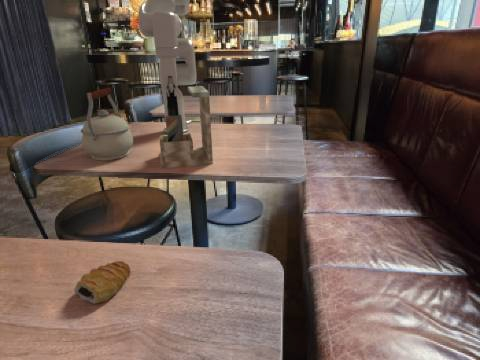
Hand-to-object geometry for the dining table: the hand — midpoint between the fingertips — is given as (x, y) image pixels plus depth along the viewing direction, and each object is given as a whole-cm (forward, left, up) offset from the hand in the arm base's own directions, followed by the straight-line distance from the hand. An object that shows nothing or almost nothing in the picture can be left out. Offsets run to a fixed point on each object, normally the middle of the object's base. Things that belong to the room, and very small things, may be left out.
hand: (172, 105), depth 111 cm
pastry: (+58, +38, -20) cm, 72 cm away
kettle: (+9, -27, -20) cm, 35 cm away
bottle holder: (-2, +2, -20) cm, 20 cm away
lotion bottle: (0, 0, -19) cm, 19 cm away
